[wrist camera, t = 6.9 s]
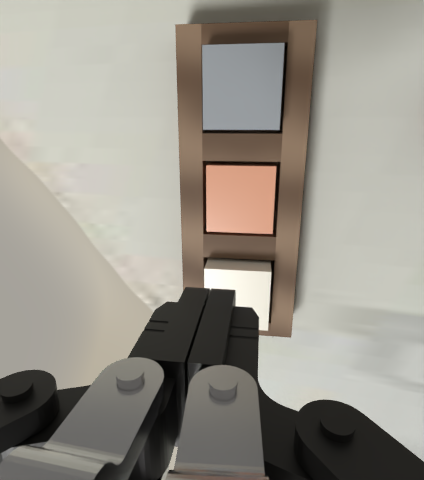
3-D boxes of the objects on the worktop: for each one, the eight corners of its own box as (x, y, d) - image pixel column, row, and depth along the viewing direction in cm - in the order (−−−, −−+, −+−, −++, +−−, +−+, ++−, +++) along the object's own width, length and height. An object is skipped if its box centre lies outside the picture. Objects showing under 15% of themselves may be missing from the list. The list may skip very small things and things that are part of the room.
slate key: (277, 129, 25) (279, 129, 23) (207, 128, 26) (202, 129, 24) (282, 49, 23) (284, 42, 21) (207, 51, 24) (202, 44, 22)
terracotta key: (271, 225, 29) (272, 233, 27) (210, 223, 29) (206, 231, 27) (275, 162, 27) (276, 166, 25) (210, 161, 28) (206, 165, 26)
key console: (288, 318, 32) (291, 337, 30) (190, 311, 33) (184, 329, 31) (310, 30, 25) (317, 19, 22) (184, 34, 26) (175, 24, 23)
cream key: (267, 316, 30) (267, 330, 28) (208, 312, 30) (204, 326, 28) (270, 260, 28) (271, 272, 26) (208, 258, 29) (204, 268, 27)
